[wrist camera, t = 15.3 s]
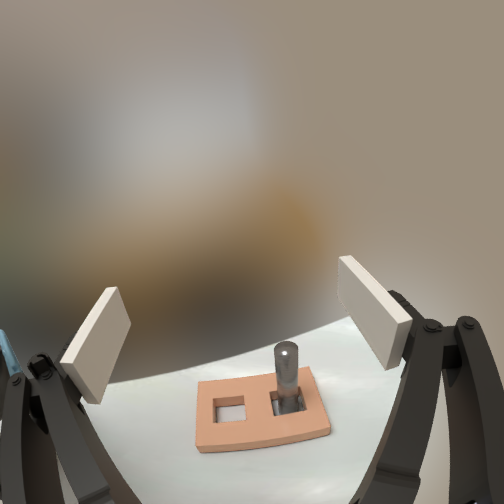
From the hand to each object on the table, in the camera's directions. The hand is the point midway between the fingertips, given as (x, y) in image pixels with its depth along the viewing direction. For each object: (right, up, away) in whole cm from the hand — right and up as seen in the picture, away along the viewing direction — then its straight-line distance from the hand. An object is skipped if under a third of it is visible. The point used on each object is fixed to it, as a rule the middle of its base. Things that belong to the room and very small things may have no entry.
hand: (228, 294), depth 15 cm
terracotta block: (+3, -23, +22) cm, 32 cm away
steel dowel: (+7, -22, +23) cm, 33 cm away
